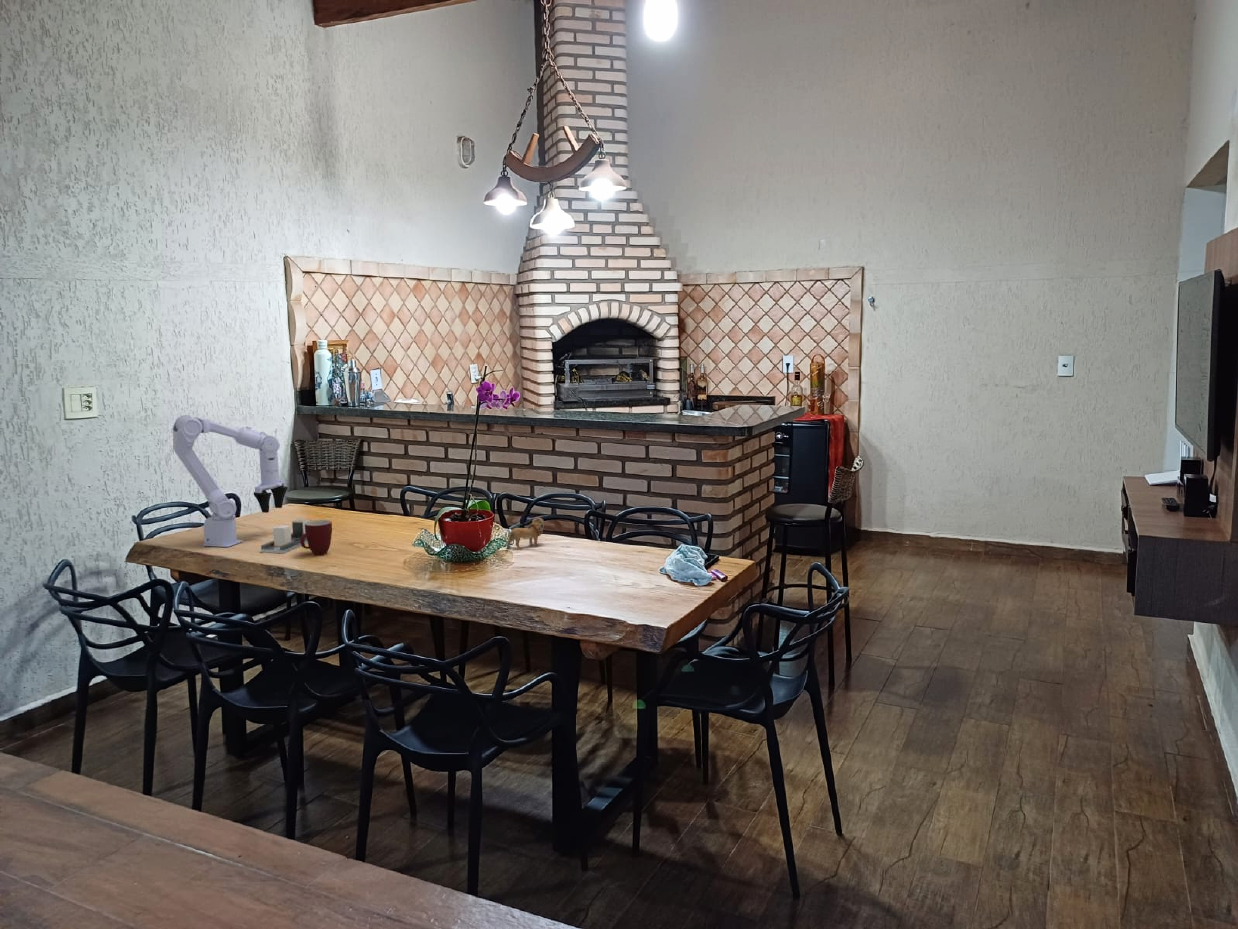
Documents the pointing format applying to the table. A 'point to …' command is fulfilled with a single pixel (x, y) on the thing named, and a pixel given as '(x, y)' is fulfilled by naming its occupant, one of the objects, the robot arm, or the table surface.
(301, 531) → the rail
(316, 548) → the mug
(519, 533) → the lion figurine
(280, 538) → the white rectangular block
